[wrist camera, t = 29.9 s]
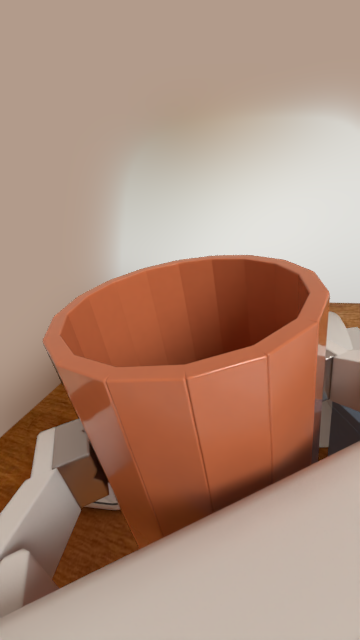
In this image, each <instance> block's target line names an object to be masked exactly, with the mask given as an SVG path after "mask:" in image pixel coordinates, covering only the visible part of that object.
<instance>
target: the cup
mask: <svg viewBox="0 0 360 640" xmlns="http://www.w3.org/2000/svg"><path fill="white" fill-rule="evenodd" d="M329 299H330V294H329V291H328V290H327V288H326V287H325V286H324V284H323V283H322V282H321V280H320V279H319V278H318V276H317V275H316V274H315V272H313V271H311V270H309V269H306V268H304V267H301V266H299V265H296V264H294V263H291V262H289V261H286V260H282V259H274V258H267V257H259V256H253V255H223V256H207V257H199V258H191V259H183V260H178V261H172V262H168V263H164V264H160V265H155V266H151V267H147V268H143V269H140V270H137V271H134V272H131V273H128V274H126V275H123V276H120V277H117V278H114V279H111V280H109V281H107V282H105V283H103V284H101V285H99V286H97V287H95V288H93V289H91V290H89V291H87V292H85V293H83V294H82V295H80V296H78V297H77V298H75V299H74V300H73V301H72V302H71V303H69V304H68V305H67V306H66V307H65V308H63V309H62V310H61V311H60V312H59V313H57V314H56V315H55V316H54V317H53V319H52V321H51V323H50V325H49V328H48V330H47V332H46V334H45V336H44V338H43V344H44V346H45V348H46V351H47V353H48V355H49V357H50V359H51V361H52V363H53V366H54V368H55V370H56V372H57V374H58V376H59V379H60V381H61V383H62V385H63V387H64V389H65V391H66V394H67V396H68V398H69V400H70V402H71V404H72V406H73V409H74V411H75V413H76V415H77V417H78V419H79V421H80V424H81V426H82V428H83V430H84V432H85V434H86V437H87V439H88V440H89V443H90V445H91V447H92V449H93V451H94V453H95V455H96V458H97V460H98V462H99V464H100V466H101V468H102V470H103V473H104V475H105V477H106V479H107V481H108V484H109V486H110V488H111V490H112V492H113V494H114V497H115V499H116V501H117V503H118V505H119V507H120V509H121V512H122V514H123V516H124V518H125V520H126V522H127V525H128V527H129V529H130V531H131V533H132V535H133V537H134V539H135V541H136V544H137V546H138V548H139V549H141V548H143V547H145V546H147V545H149V544H151V543H153V542H155V541H157V540H159V539H161V538H163V537H165V536H167V535H170V534H172V533H174V532H176V531H178V530H180V529H182V528H184V527H186V526H188V525H190V524H192V523H194V522H196V521H198V520H200V519H202V518H204V517H206V516H208V515H210V514H212V513H214V512H216V511H218V510H220V509H223V508H225V507H227V506H229V505H231V504H233V503H235V502H237V501H239V500H241V499H243V498H245V497H247V496H249V495H251V494H253V493H255V492H257V491H259V490H261V489H263V488H265V487H267V486H269V485H271V484H273V483H275V482H277V481H279V480H281V479H283V478H285V477H288V476H290V475H292V474H294V473H296V472H298V471H300V470H302V469H304V468H306V467H308V466H310V465H312V464H314V463H316V462H318V454H319V440H320V425H321V411H322V397H323V383H324V369H325V355H326V341H327V327H328V313H329Z"/></svg>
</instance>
